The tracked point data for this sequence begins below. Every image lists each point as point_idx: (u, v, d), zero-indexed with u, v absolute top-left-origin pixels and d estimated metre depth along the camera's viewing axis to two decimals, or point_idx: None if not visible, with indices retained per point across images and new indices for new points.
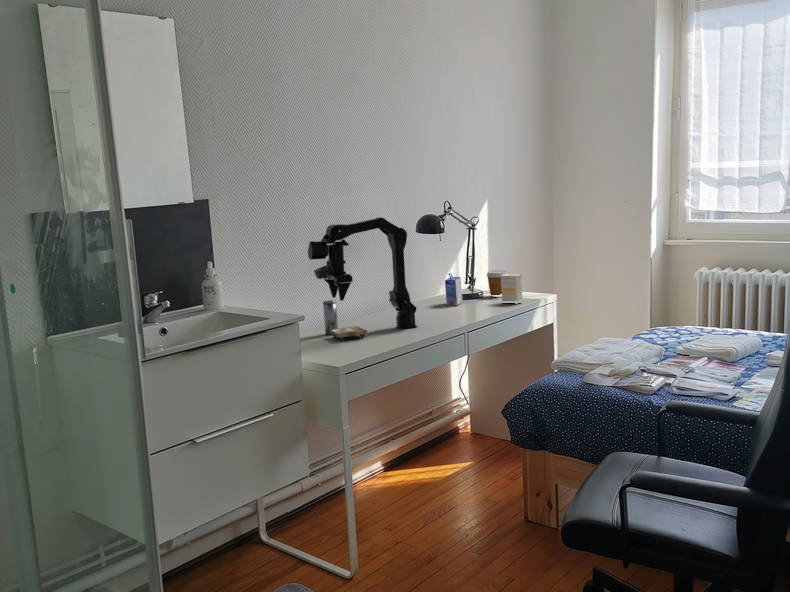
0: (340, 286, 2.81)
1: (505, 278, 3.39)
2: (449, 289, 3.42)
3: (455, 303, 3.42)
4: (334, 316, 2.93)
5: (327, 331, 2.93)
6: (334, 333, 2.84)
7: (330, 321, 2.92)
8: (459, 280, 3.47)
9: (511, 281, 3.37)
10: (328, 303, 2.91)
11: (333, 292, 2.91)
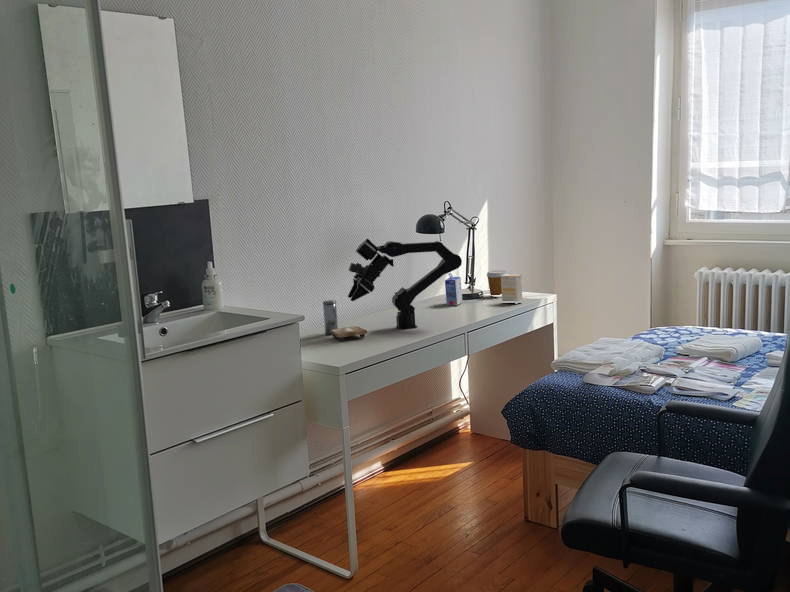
0: (359, 288, 2.89)
1: (505, 278, 3.39)
2: (449, 289, 3.42)
3: (455, 303, 3.42)
4: (334, 315, 2.93)
5: (327, 331, 2.93)
6: (334, 333, 2.84)
7: (330, 321, 2.92)
8: (459, 280, 3.47)
9: (511, 281, 3.37)
10: (328, 303, 2.91)
11: (351, 293, 2.99)
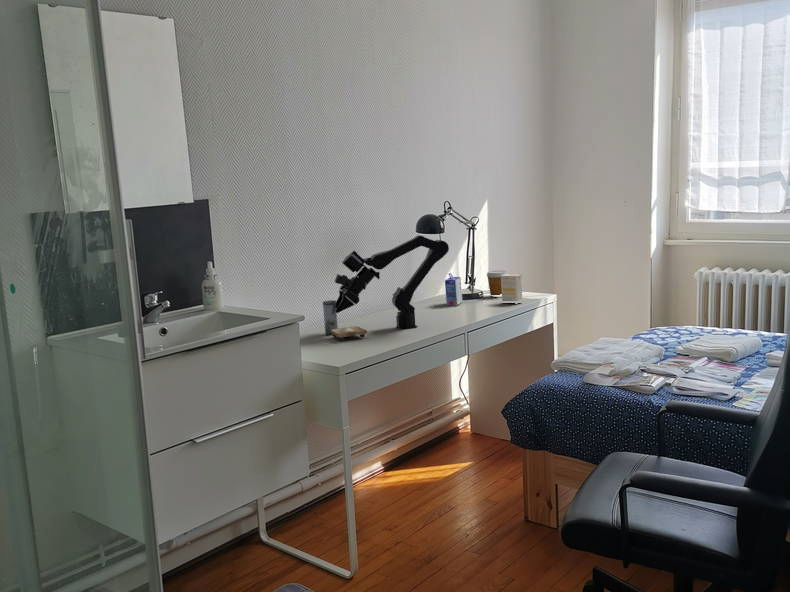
0: (344, 300, 2.88)
1: (505, 278, 3.39)
2: (449, 289, 3.42)
3: (455, 303, 3.42)
4: (334, 315, 2.93)
5: (327, 331, 2.93)
6: (334, 333, 2.84)
7: (330, 321, 2.92)
8: (459, 280, 3.47)
9: (511, 281, 3.37)
10: (328, 303, 2.91)
11: (337, 304, 2.99)
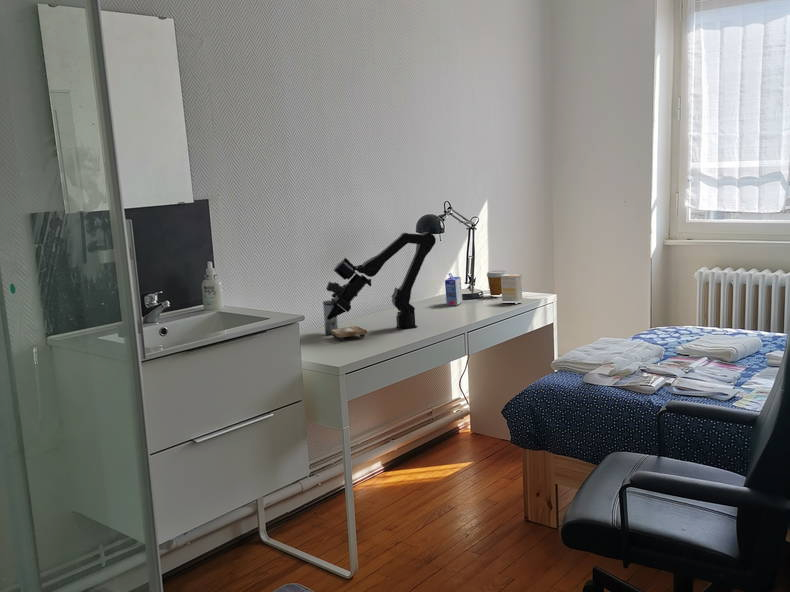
0: (335, 307, 2.90)
1: (505, 278, 3.39)
2: (449, 289, 3.42)
3: (455, 303, 3.42)
4: None
5: (327, 331, 2.93)
6: (334, 333, 2.84)
7: (330, 321, 2.92)
8: (459, 280, 3.47)
9: (511, 281, 3.37)
10: (328, 303, 2.91)
11: None
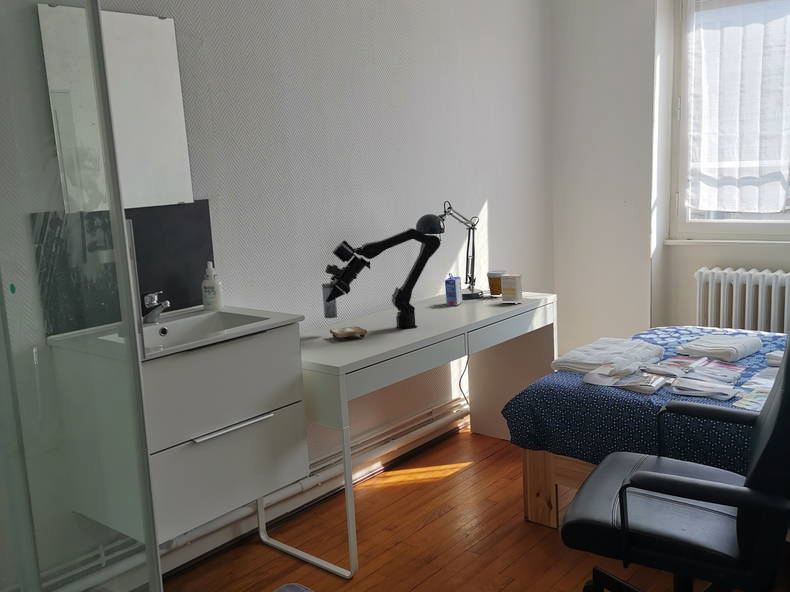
0: (334, 289, 2.89)
1: (505, 278, 3.39)
2: (449, 289, 3.42)
3: (455, 303, 3.42)
4: None
5: (326, 314, 2.92)
6: (334, 333, 2.84)
7: (329, 303, 2.91)
8: (459, 280, 3.47)
9: (511, 281, 3.37)
10: (327, 285, 2.90)
11: None
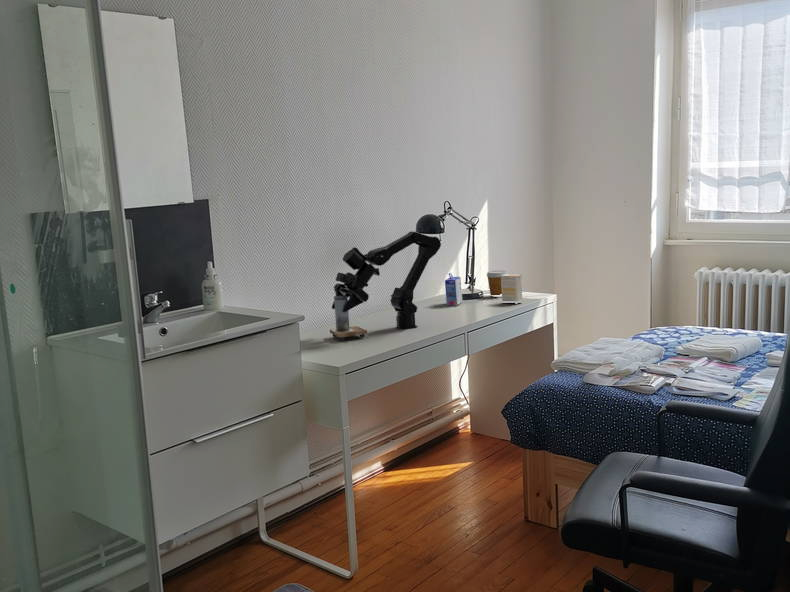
0: (352, 298, 2.80)
1: (505, 278, 3.39)
2: (448, 289, 3.42)
3: (455, 303, 3.42)
4: None
5: (340, 327, 2.83)
6: (334, 333, 2.84)
7: (344, 316, 2.83)
8: (459, 280, 3.47)
9: (511, 281, 3.37)
10: (342, 297, 2.82)
11: None
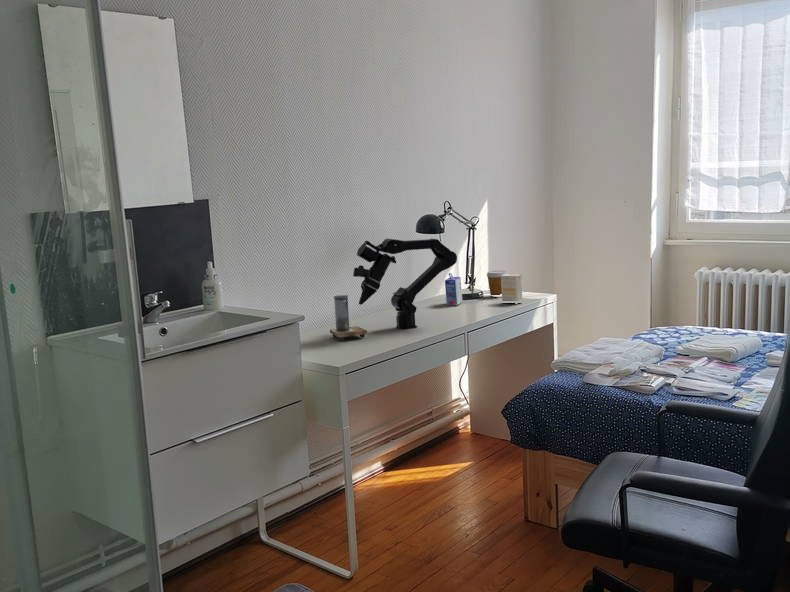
0: (366, 289, 2.86)
1: (505, 278, 3.39)
2: (449, 289, 3.42)
3: (455, 303, 3.42)
4: (347, 310, 2.84)
5: (340, 327, 2.83)
6: (334, 333, 2.84)
7: (344, 316, 2.83)
8: (459, 280, 3.47)
9: (511, 281, 3.37)
10: (342, 297, 2.82)
11: None
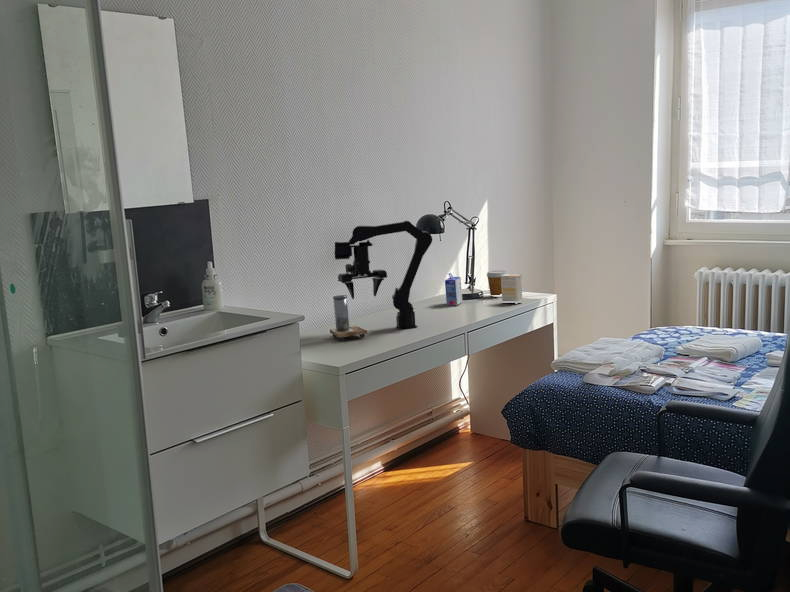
0: (347, 285, 2.96)
1: (505, 278, 3.39)
2: (449, 289, 3.42)
3: (455, 303, 3.42)
4: (347, 310, 2.84)
5: (340, 327, 2.83)
6: (334, 333, 2.84)
7: (344, 316, 2.83)
8: (459, 280, 3.47)
9: (511, 281, 3.37)
10: (341, 297, 2.82)
11: (373, 291, 3.00)
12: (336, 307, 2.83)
